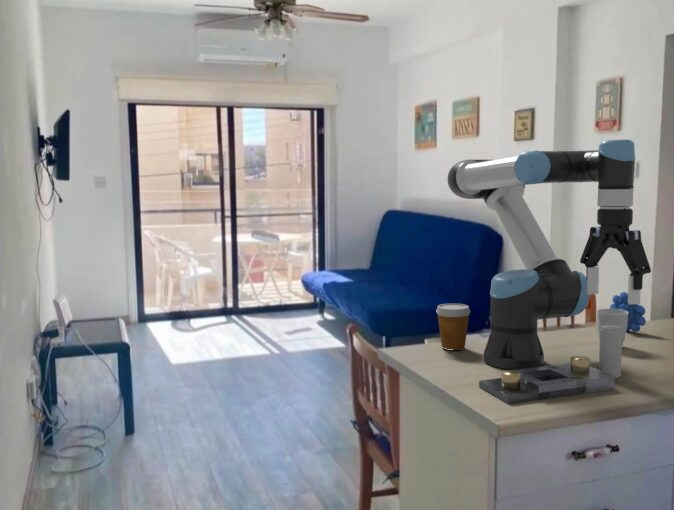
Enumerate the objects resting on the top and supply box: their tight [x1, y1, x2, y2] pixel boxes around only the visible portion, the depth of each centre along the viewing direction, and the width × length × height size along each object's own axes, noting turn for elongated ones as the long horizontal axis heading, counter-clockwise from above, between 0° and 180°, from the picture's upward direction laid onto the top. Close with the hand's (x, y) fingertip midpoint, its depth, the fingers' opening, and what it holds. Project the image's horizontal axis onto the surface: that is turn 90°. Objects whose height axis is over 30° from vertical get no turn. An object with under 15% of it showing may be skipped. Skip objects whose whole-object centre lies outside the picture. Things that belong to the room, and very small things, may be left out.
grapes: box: [609, 291, 647, 333], centre depth 196 cm, size 12×7×12 cm, turn 33°
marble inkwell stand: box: [478, 355, 616, 405], centre depth 145 cm, size 12×27×6 cm, turn 107°
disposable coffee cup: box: [435, 303, 471, 351], centre depth 181 cm, size 10×10×12 cm
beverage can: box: [598, 325, 623, 380], centre depth 152 cm, size 5×5×12 cm
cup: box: [596, 308, 628, 346], centre depth 179 cm, size 8×8×10 cm
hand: (612, 298), depth 151 cm, fingers open, 13 cm apart
